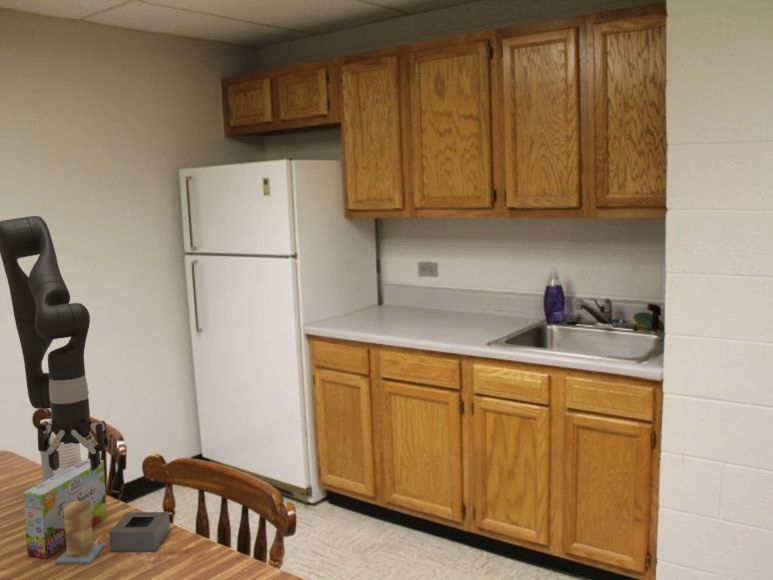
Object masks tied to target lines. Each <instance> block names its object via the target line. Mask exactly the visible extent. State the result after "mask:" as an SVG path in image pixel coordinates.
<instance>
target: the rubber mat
mask: <svg viewBox="0 0 773 580" xmlns="http://www.w3.org/2000/svg"><path fill="white" fill-rule="evenodd" d="M93 547H94V548H93V549H92V551H91V552H90V553H89V554H88V555H87V556H86V557H67V549H66V550H65V551H64V552H63V553H62V554H61V555H60V556H59V557H58V558H57V559H56V561H55V565H91V564H92V563H93V562H94V560H95V559H96V558H97V556H98V555H99V554H100V553H101V552H102V551H103V550H104V548H105V547H106V544H105V543H98V544H97V543H93Z"/></svg>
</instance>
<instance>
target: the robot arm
mask: <svg viewBox="0 0 773 580" xmlns="http://www.w3.org/2000/svg"><path fill="white" fill-rule="evenodd" d="M34 256H38V258H37V259H36V261H35V263H34V265H33V266H32V268H31V269H30V272H29V275H27V274H26V272H25V271H24V270H23V269H22V267H21V265H20V264H19V261H18V259H22V258H27V257H28V258H29V257H34ZM0 258H1V261H2V265H3V268H4V272H5V276H6V279H7V283H8V288H9V294H10V300H11V304H12V310H13V317H14V322H15V326H16V330H17V334H18V339H19V344H20V346H21V347H20V348H21V351H22V355H23V356H22V358H23V362H24V371H25V380H26V388H27V395H28V399H29V403H30V405H31V406H32V407H33V409H35V410H36V409H37V410H38V409H39V410H46V409H50V417H51V418H49V419H51V420H52V424H50V423H48V422H46V421H45V422H43V423H42V424H39V425H38V426H37V428H36V429H37V450H38V451H39V452H40V459H41V460H40V461H41V462H40V463H41V474H42V482H44V481H46V480H47V479H49V478H51V477H53V476H54V474H53V470H57V469H58V468H59V467H60V463H59V452H58V451H57V449H58V447H59V446H60V444H61V443H62V442H63V443H64V444H69V443H74V444H79V445H80V444H81V445H82V447H83V448H86V449H87V450H88V452H89V453H90V454H89V459H90V463H91V470H96V469H97V468H98V466H99V465H100V463H101V461H100V460H101V452H104V451H105V450H106V448H108V447H109V446H110V445H109V439H108V432H107V424H106V421H104V420H102V421H99V422H92V420H91V418H90V417H91V412H90V401H89V400H90V399H89V398H90V397H89V392H90V391H89V389H88V388H89V387H88V381H87V377H86V365H85V349H86V348H85V347H86V342H87V337H88V334H89V333H88V332H89V329H90V325H91V316H90V312H89V310H88V309H87V307H86V306H85V305H84V304H82V303H79V302H72V303H70V301H71V294H70V291H69V289H68V287H67V285H66V283H65V280H64V278H63V276H62V274H61V272H60V267H59V264H58V263H59V262H58V259H57V253H56V250H55V247H54V243H53V239H52V235H51V232H50V229H49V227H48V225H47V223H46V221H45V220H44V218H42V217H41V216H38V215H30V216H24V217H16V218H10V219H6V220H5V219H4V220H0ZM66 338H70V339H69V340H68V342H67V343H66V344H65V345H63V346H60V347H58V348H55V349H54V350H50V352H49V353H48V355H47V367H48V368H47V369H48V372H44V371H43V365H42V364H43V361H44V357H45V355H46V353H47V351H48V349H49V347H50V346H51V344H52V342H53V341H54V340H57V339H58V340H59V339H66ZM92 430H93V433H94V434H95V435H96V439H95V437H94V435H93V434H92V433H91V431H92ZM52 431H53V433H54V434H55V435H56V437H55V439H54V440H53V442H52V443H51V442H50V436H51V433H52Z"/></svg>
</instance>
